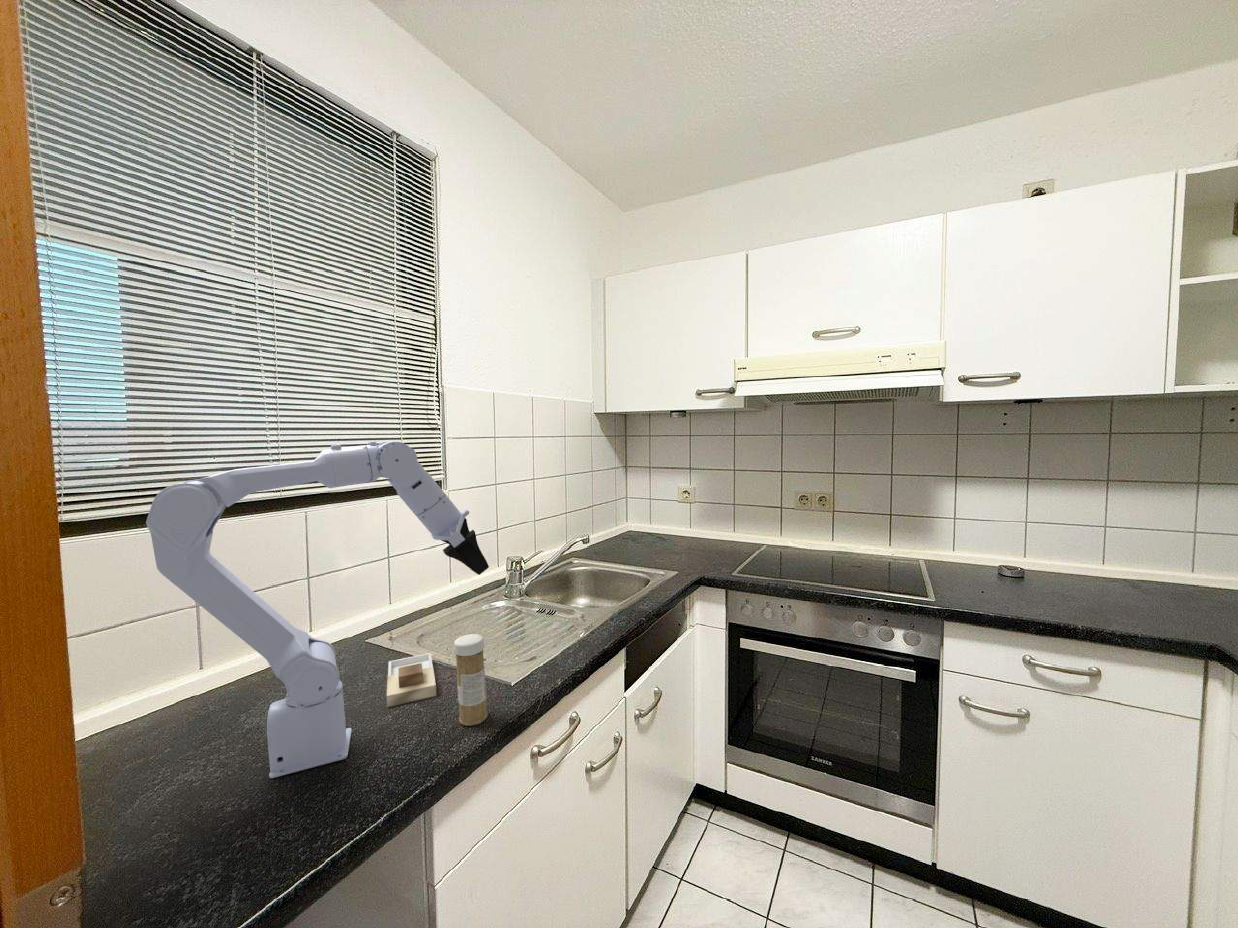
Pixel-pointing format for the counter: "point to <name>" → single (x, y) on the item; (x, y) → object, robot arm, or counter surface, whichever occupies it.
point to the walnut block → (410, 675)
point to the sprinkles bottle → (471, 679)
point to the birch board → (410, 689)
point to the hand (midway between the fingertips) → (479, 563)
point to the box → (409, 663)
